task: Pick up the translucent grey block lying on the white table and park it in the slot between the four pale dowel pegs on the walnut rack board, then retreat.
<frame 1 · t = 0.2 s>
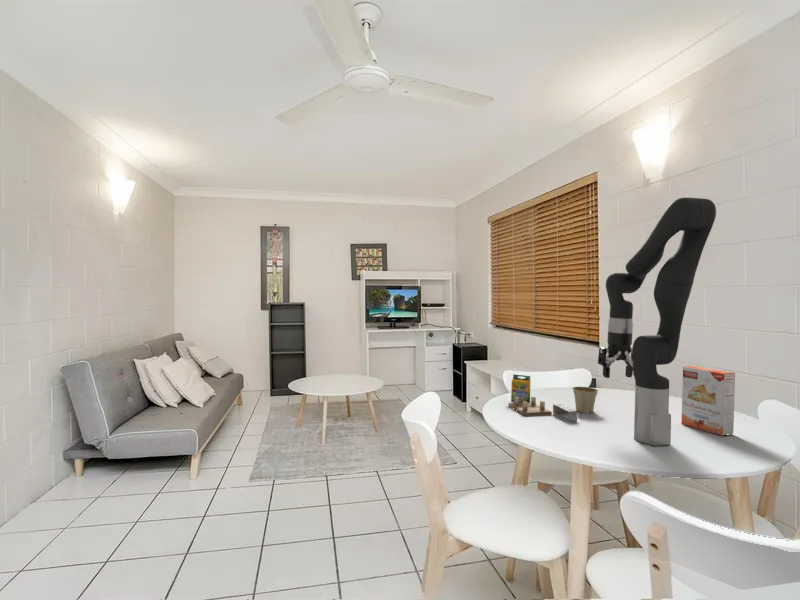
hand: (617, 377, 148), 17 cm above the table, tool pointing down, fingers open, 8 cm apart
crayon box: (520, 403, 178), on the table
cracker box: (706, 430, 147), on the table
flower pot: (584, 411, 168), on the table
rack: (529, 410, 168), on the table
translucent grey block: (564, 418, 159), on the table
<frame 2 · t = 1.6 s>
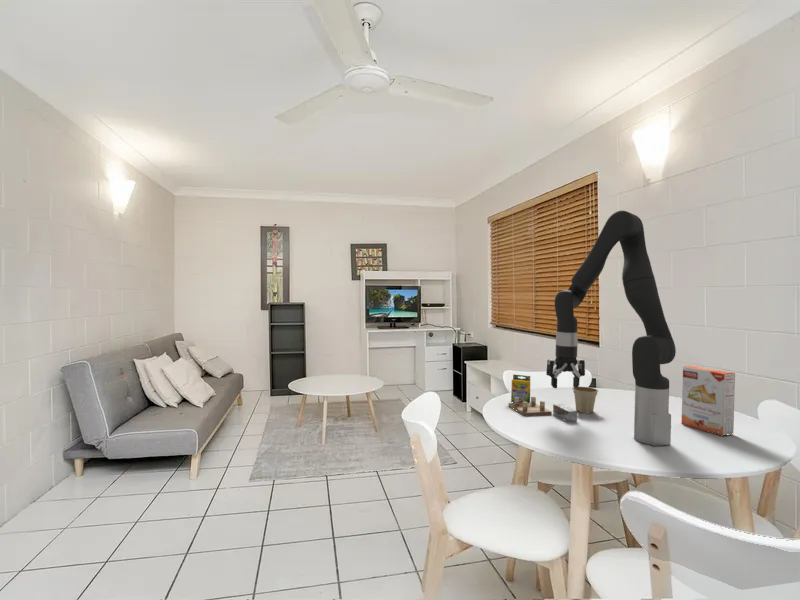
hand: (565, 387, 159), 11 cm above the table, tool pointing down, fingers open, 8 cm apart
nothing on the table moved.
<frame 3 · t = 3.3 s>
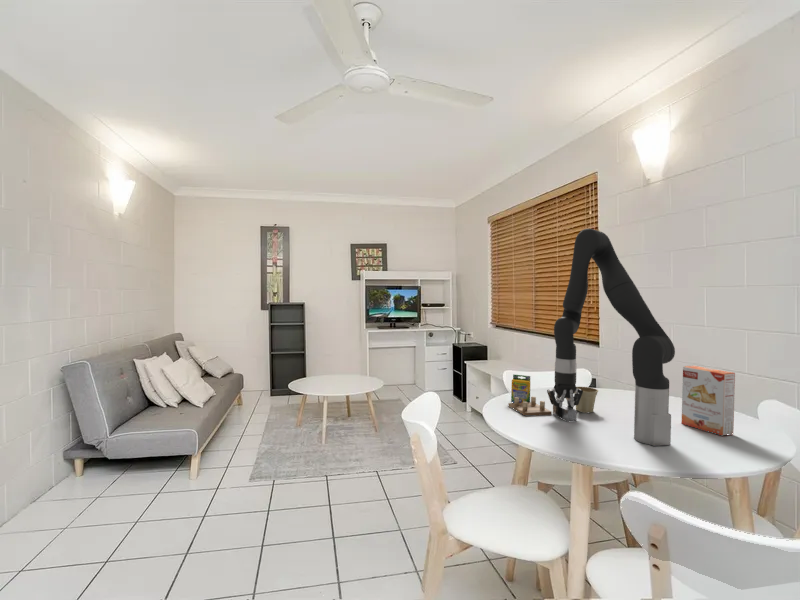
hand: (564, 416, 159), 0 cm above the table, tool pointing down, fingers closed on translucent grey block, 3 cm apart
translucent grey block: (564, 417, 159), on the table, touching gripper
everything else where it was.
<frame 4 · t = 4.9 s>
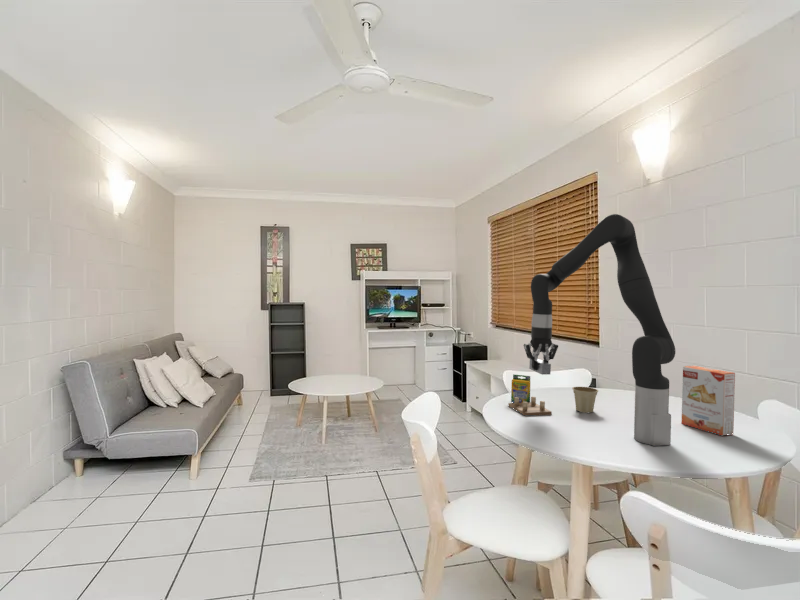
hand: (539, 369, 166), 16 cm above the table, tool pointing down, fingers closed on translucent grey block, 3 cm apart
translucent grey block: (539, 371, 166), point 16 cm above the table, touching gripper
everything else where it was.
when the fingers open (3 cm above the table, at t = 7.0 s): translucent grey block drops 1 cm, resting on rack.
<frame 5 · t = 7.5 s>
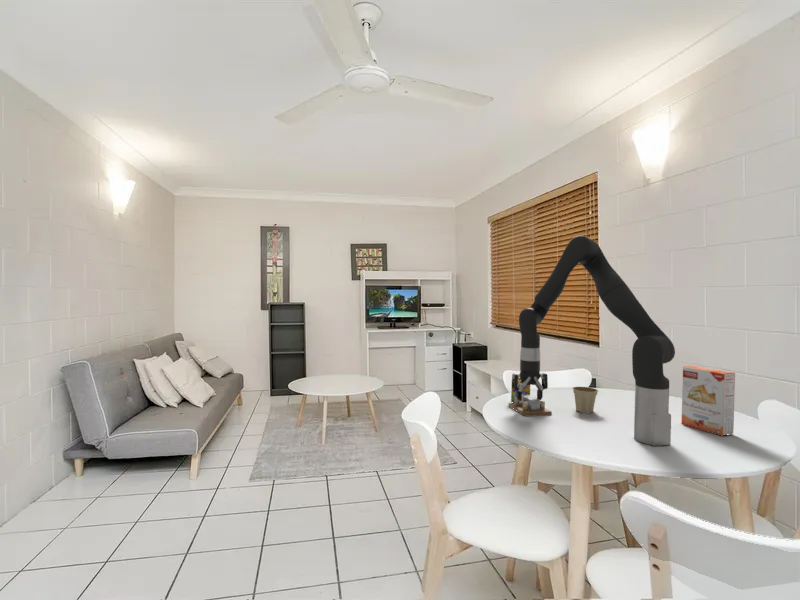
hand: (529, 400, 168), 4 cm above the table, tool pointing down, fingers open, 8 cm apart
translucent grey block: (529, 407, 168), point 1 cm above the table, touching rack
everything else where it was.
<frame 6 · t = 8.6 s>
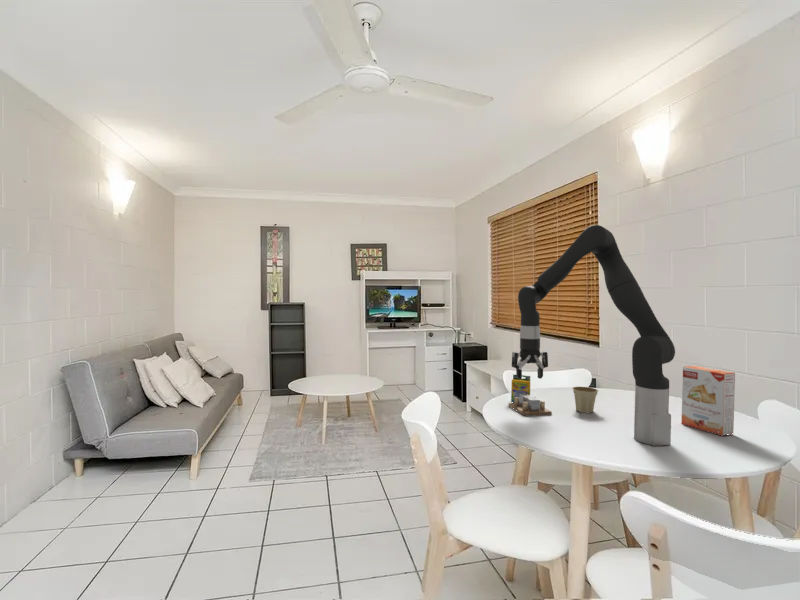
hand: (529, 378, 167), 13 cm above the table, tool pointing down, fingers open, 8 cm apart
nothing on the table moved.
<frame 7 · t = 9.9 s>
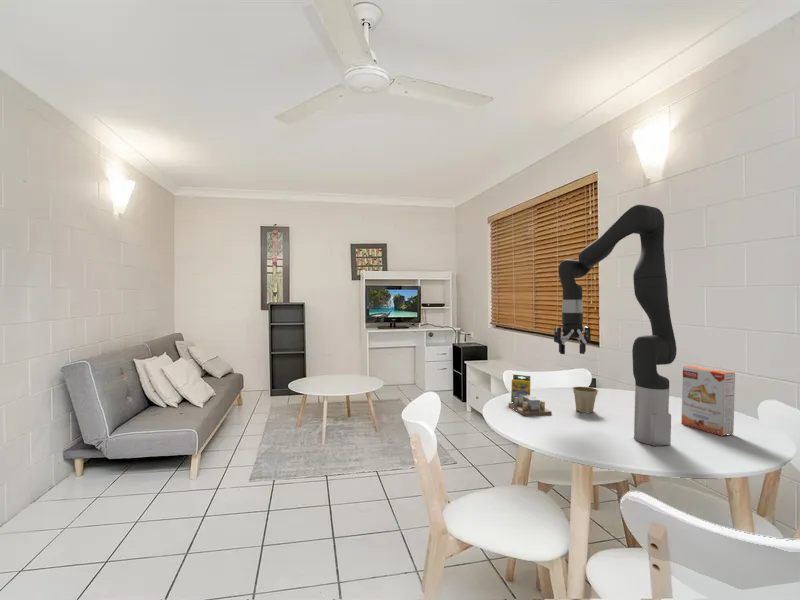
hand: (572, 353, 164), 23 cm above the table, tool pointing down, fingers open, 8 cm apart
nothing on the table moved.
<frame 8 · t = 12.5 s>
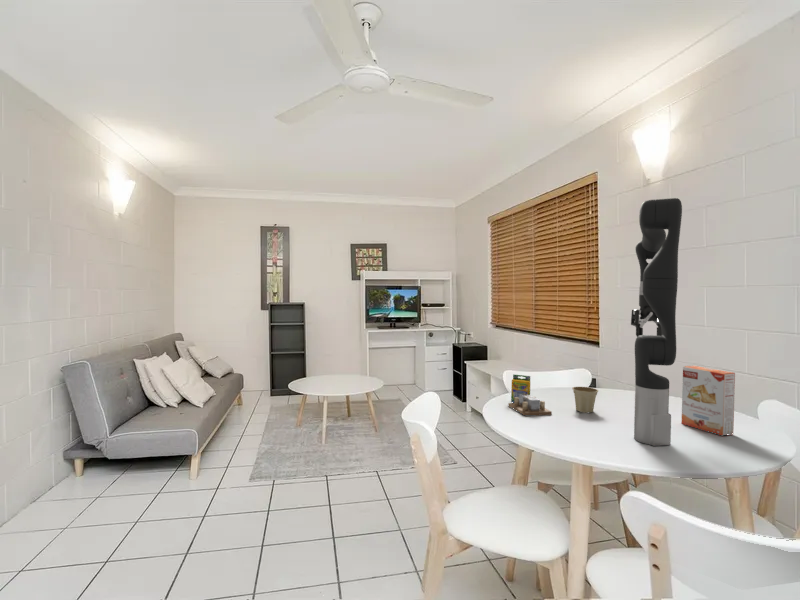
hand: (649, 337, 159), 30 cm above the table, tool pointing down, fingers open, 8 cm apart
nothing on the table moved.
at the end: translucent grey block 0.2 cm off-centre on the rack, point 1.2 cm above the rack's base; the gripper is holding nothing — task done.
